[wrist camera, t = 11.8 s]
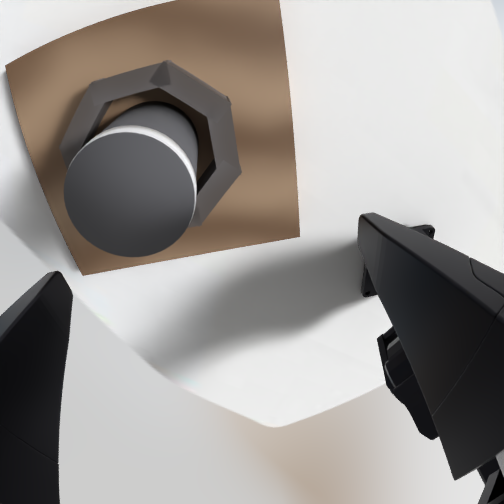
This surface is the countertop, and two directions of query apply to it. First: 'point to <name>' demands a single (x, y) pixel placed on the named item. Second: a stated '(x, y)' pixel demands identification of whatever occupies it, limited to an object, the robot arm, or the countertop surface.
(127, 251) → the lens
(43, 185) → the mount
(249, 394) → the countertop surface
